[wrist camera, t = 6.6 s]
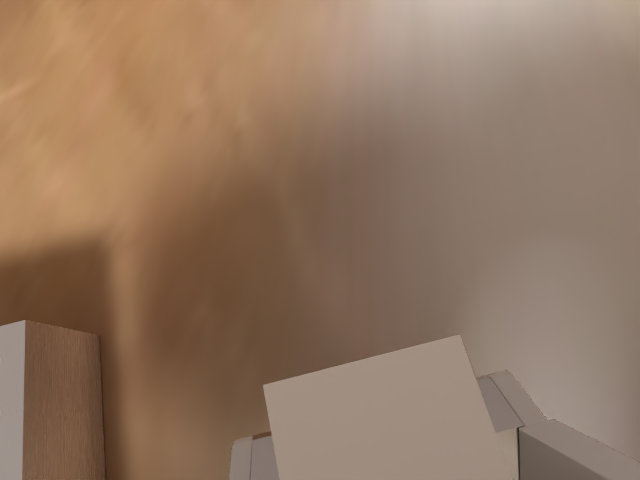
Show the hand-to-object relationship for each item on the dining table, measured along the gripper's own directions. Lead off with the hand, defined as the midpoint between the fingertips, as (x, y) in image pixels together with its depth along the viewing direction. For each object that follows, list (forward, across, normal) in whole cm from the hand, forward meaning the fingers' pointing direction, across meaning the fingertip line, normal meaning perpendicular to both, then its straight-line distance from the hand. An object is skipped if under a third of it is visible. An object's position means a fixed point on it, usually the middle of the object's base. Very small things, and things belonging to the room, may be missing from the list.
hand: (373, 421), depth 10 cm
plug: (+3, 0, +4) cm, 5 cm away
